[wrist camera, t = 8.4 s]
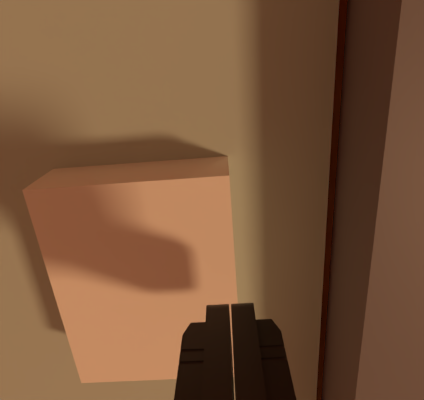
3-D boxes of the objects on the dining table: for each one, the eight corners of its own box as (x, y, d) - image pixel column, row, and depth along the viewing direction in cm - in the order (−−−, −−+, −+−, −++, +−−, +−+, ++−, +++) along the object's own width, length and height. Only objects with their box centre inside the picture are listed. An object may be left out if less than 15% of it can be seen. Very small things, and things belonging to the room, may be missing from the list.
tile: (229, 175, 12) (227, 155, 14) (22, 190, 12) (53, 168, 14) (242, 376, 15) (239, 334, 17) (81, 383, 15) (98, 341, 18)
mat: (-191, -44, 12) (-204, -47, 11) (341, -94, 11) (345, -100, 11) (13, 434, 21) (10, 441, 21) (312, 425, 20) (314, 432, 20)
